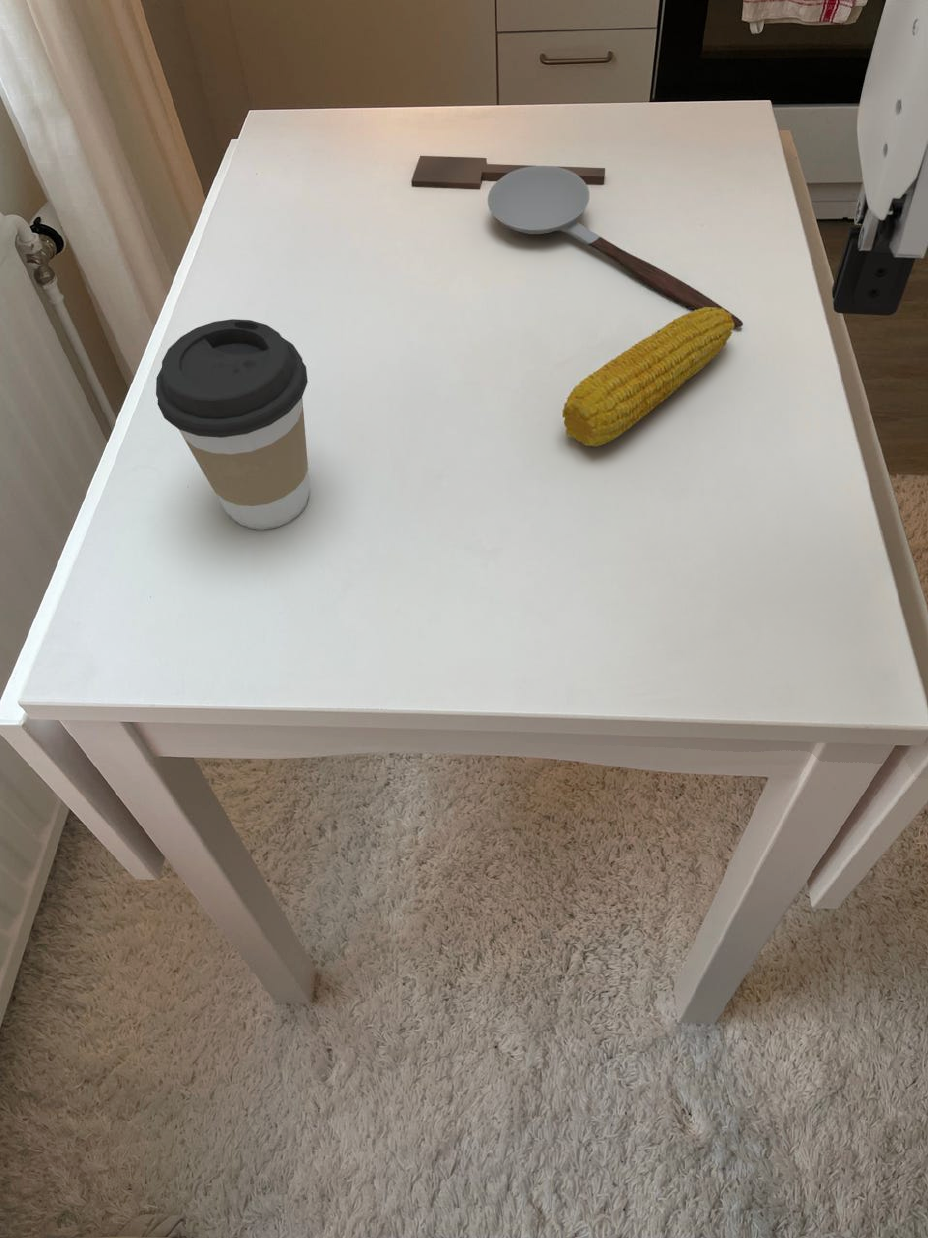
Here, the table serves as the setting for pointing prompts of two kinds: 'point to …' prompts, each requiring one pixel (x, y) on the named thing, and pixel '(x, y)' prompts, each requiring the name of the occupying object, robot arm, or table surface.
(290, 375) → the coffee cup
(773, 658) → the table surface
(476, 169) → the spatula
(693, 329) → the food
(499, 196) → the spoon
